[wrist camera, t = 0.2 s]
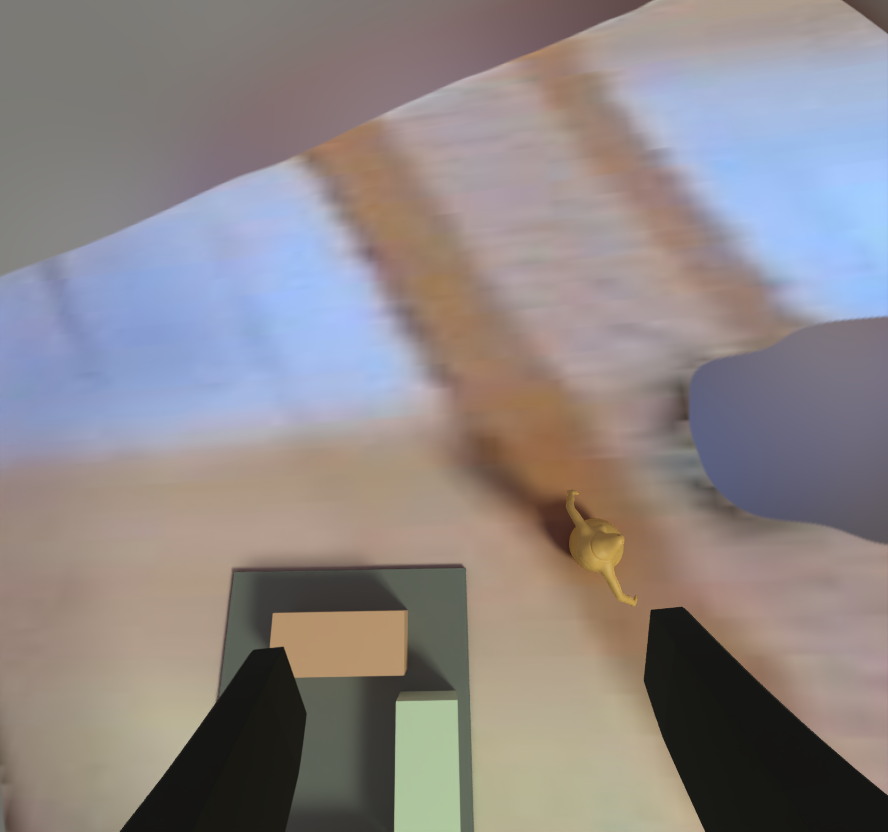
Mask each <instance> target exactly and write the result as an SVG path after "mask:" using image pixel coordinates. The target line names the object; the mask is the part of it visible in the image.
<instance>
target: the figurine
mask: <svg viewBox="0 0 888 832" xmlns="http://www.w3.org/2000/svg"><path fill="white" fill-rule="evenodd" d="M576 492H577V491H573V490H568V491H567V493H568V496H567V503H566V509H567V511H568V513H569V515H570V517H571V519H572V520H573V522H574V524H575V525H576V527H575V528H574V529H573V531H572V533H571V535H570V539H569V548H570V552H571V555H572V557H573V558H574V560H575V561H576V562H577V563H578V564H579V565H580V566H581V567H583V568H584V569H586V570H589V571H592V572H600V573H601V574H602V575H603V576H604V577H605V579H606V581H607V583H608V585H609V587H610V588H611V590H612V592H613V594H614V595H615V597H616V598H617V599H618V600H619V601H622V602H624V603H627V604H631V606H633V607H634V606H635V605H636V603H637V600H638V598H637V595H636V596H635V597H634V599H632V598H631V597H630V596H628V595H625V594H624V593H623V592H622V589H621V587H620V584H619V582H618V579H617V578H616V575H615V572H614V566H615V565H617V563H618V562H619V561H620V559H621V557H622V554H623V543H624V537H623V536H622V535H621V534H620V533H619V531H618V530H617V529H616V528H615V527H614V526H613V525H612V524H611V523H609V522H607V521H605V520H602V519H596V518H592V519H587V520H583V518H582V516H581V515H580V514H579V512H578V511H577V510H576V509H575V508H574V495H573V494H579V493H576Z"/></svg>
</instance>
